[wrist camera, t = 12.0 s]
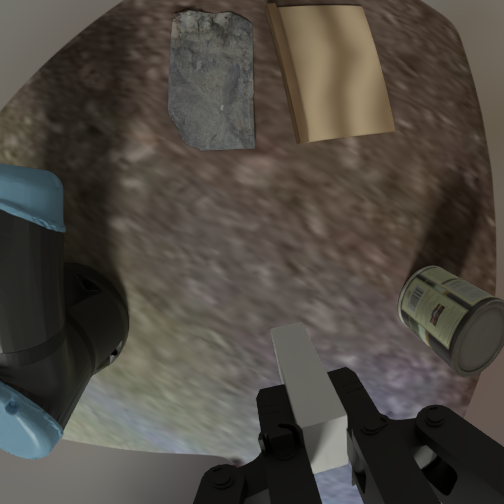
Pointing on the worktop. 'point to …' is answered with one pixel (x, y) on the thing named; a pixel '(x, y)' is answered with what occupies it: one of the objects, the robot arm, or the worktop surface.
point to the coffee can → (453, 319)
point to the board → (330, 71)
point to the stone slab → (212, 80)
